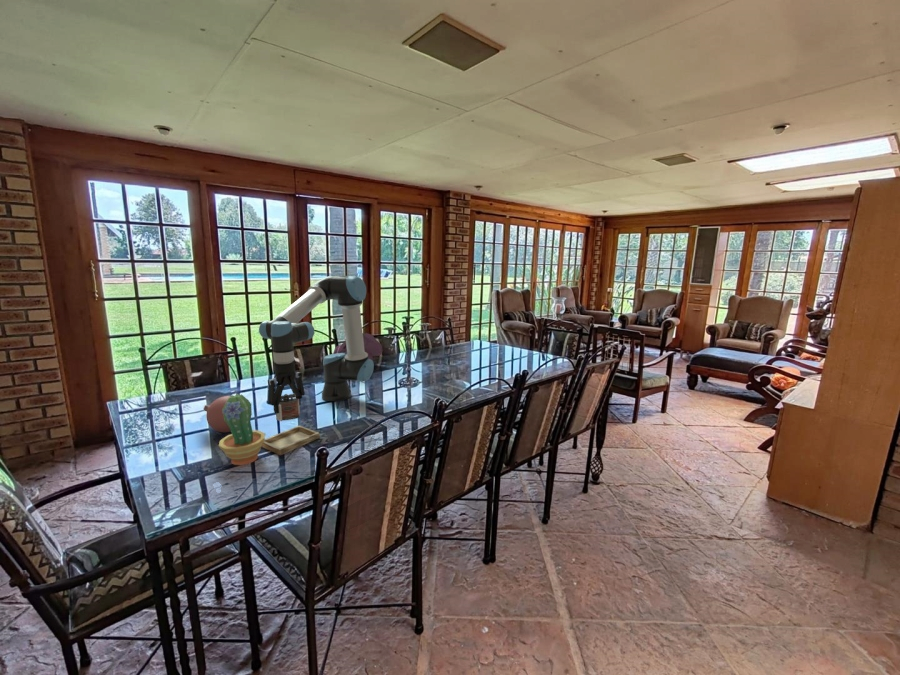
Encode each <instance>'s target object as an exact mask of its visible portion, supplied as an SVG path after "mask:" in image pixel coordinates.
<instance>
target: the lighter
mask: <svg viewBox="0 0 900 675" xmlns="http://www.w3.org/2000/svg"><path fill="white" fill-rule="evenodd" d="M293 398H296V394H293V393H290V394H287V393H285V394H282V395H281V399H280V403H279V404H280V405H281V410H282V421H281V422H283V421H290V420H295V419H299V418H300V414H299V411H298V399H293Z"/></svg>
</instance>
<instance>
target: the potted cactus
mask: <svg viewBox="0 0 900 675" xmlns="http://www.w3.org/2000/svg"><path fill="white" fill-rule="evenodd" d="M229 396H230V397H229V398H228V400H227V402H226V404H225V405H224V407H223V409H222V412H223V416H224V420H225V422H226V423H227V425H228V426H229V428H230V430H231V432H230V433H231V434H228V435H226V436H225V437H223V438H222V439H220V440H219V442H218V443H219V444H218V447H219V449H220V450H222V451H223V453H224V454H225V456H226V457H227V458H229V460H231V461H230V463H231V464H233V466H243V465H249V464H251V463H253V462H255V461H256V460H257V459H258V457H259V455H258V454H259V453H260V451H261V448H262V447H261V446H262V443H263V442H264V440H265V439H266V433H265V432H263V431H261V430H253V428H252V423H251V419H252V415H253V414H252V403H251V401H250V400H249V399H248V398H246V396H244V395H243V393H242V394H238V393H236V394H235V395H233V394H231V395H229Z"/></svg>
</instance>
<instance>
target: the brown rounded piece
mask: <svg viewBox="0 0 900 675" xmlns="http://www.w3.org/2000/svg"><path fill="white" fill-rule="evenodd" d="M230 396H231V395H224V396H220V397H218V398H217V399H214V401H212V402H211V403H210V404H204V407H203V411H204V412H206V422H207V424H208V426H209V427H210V428H211V429H213V430H214V431H215V432H219V433H231V430H230V428H229V426H228V425H227V423H226V422H225V420H224V416H223V412H222V409H223V407H224V405H225V404H226V402H227V400H228V398H229V397H230Z"/></svg>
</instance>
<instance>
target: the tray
mask: <svg viewBox="0 0 900 675" xmlns="http://www.w3.org/2000/svg"><path fill="white" fill-rule="evenodd" d="M317 439H320V432H318V431H315V430H312V429H311V428H307V427H304V426H303V425H297V426H294V427H293V428H289V429H287V430H284V431H281V432H280V433H277V434H275V435H273V436H269V437H268V438H267V437H266V438H265V440H264V442H263V443H262V446H261V448H264V449H266V450H268V451H270V452H272V453H274V454H277V455H279V456H282V455H285V454H287V453H289V452H292V451H293V450H295V449H297V448H300V447H302V446H305V445H307V444H309V443H311V442H313V441H316V440H317Z"/></svg>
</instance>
